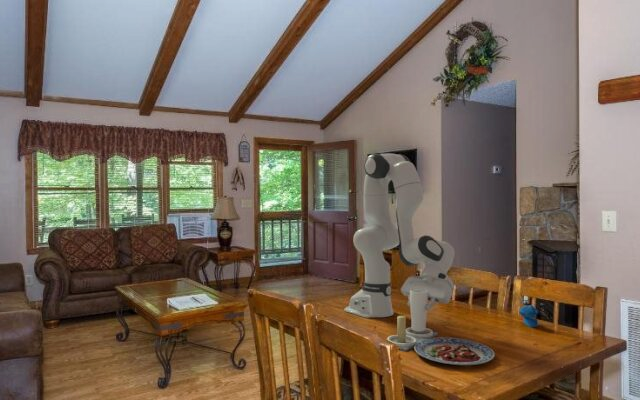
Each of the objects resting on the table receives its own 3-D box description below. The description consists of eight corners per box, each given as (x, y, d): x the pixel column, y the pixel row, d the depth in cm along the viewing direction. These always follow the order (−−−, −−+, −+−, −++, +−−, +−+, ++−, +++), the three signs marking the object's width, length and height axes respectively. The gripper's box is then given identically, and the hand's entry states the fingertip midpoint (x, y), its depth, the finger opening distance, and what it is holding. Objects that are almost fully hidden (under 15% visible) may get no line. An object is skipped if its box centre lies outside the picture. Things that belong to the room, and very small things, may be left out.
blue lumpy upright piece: (529, 304, 197) (546, 304, 185) (531, 325, 195) (549, 327, 184) (512, 305, 196) (529, 305, 184) (515, 326, 194) (532, 328, 183)
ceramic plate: (489, 346, 166) (489, 338, 166) (500, 374, 141) (500, 364, 141) (415, 341, 172) (415, 333, 172) (413, 367, 147) (413, 357, 147)
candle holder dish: (381, 345, 167) (381, 317, 166) (414, 329, 185) (414, 305, 185) (406, 351, 160) (406, 322, 160) (437, 334, 179) (437, 309, 178)
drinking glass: (428, 333, 174) (428, 293, 173) (409, 332, 175) (409, 292, 175) (427, 328, 180) (427, 289, 180) (409, 327, 181) (409, 288, 181)
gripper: (406, 270, 189) (392, 298, 183) (452, 276, 175) (438, 307, 168) (412, 279, 193) (398, 307, 186) (458, 286, 178) (444, 317, 171)
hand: (418, 307), depth 177 cm, fingers closed on drinking glass, 6 cm apart
